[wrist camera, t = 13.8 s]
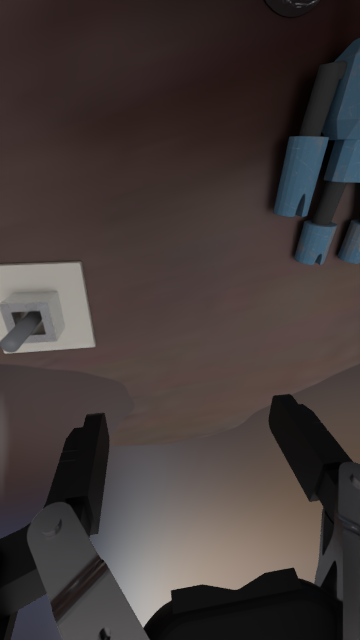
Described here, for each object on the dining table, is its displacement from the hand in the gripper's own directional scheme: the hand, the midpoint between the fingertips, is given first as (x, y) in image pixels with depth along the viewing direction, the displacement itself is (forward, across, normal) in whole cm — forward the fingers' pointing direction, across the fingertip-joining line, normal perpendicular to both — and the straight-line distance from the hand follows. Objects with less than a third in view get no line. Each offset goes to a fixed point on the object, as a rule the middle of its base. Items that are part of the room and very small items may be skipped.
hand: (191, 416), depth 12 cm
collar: (+29, +18, +6) cm, 35 cm away
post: (+30, +18, +6) cm, 36 cm away
